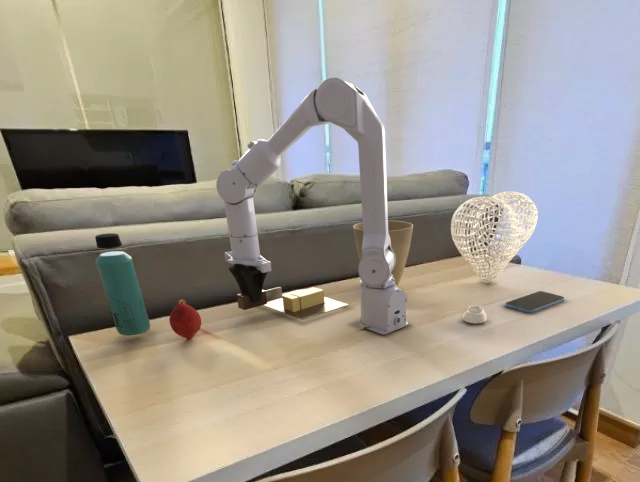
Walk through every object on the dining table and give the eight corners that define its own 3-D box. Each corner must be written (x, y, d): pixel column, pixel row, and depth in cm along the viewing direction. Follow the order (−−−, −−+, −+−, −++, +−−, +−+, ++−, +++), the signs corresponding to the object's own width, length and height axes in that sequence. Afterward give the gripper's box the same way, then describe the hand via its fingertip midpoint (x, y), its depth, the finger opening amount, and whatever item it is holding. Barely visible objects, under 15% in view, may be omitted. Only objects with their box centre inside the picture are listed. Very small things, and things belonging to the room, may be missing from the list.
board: (349, 308, 108) (348, 304, 108) (302, 324, 100) (301, 319, 99) (301, 293, 119) (300, 289, 119) (255, 305, 111) (254, 301, 110)
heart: (486, 268, 140) (496, 187, 128) (535, 276, 131) (551, 191, 120) (435, 288, 122) (441, 197, 110) (488, 300, 113) (500, 202, 101)
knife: (244, 310, 100) (242, 296, 98) (238, 307, 101) (236, 294, 100) (285, 298, 106) (284, 285, 105) (279, 296, 108) (277, 283, 106)
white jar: (470, 315, 104) (458, 321, 101) (472, 302, 102) (459, 308, 99) (490, 320, 101) (478, 326, 98) (492, 307, 99) (479, 313, 96)
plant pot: (375, 278, 131) (375, 218, 123) (421, 286, 123) (424, 223, 115) (342, 291, 120) (340, 226, 112) (390, 301, 113) (391, 232, 105)
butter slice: (300, 310, 105) (299, 297, 103) (293, 312, 103) (292, 299, 102) (290, 306, 107) (289, 293, 105) (283, 308, 106) (282, 295, 104)
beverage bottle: (160, 332, 96) (134, 231, 86) (136, 344, 90) (106, 238, 80) (135, 329, 98) (107, 229, 87) (110, 340, 92) (77, 236, 82)
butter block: (324, 302, 109) (323, 290, 108) (301, 309, 105) (300, 296, 103) (314, 299, 111) (314, 287, 110) (291, 306, 107) (290, 293, 105)
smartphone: (503, 302, 108) (539, 290, 117) (503, 306, 109) (539, 293, 117) (530, 310, 103) (566, 296, 112) (530, 314, 104) (566, 300, 112)
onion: (194, 345, 90) (186, 305, 86) (168, 343, 91) (158, 304, 87) (209, 334, 95) (202, 296, 91) (184, 332, 96) (175, 294, 92)
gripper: (207, 233, 97) (219, 296, 104) (246, 242, 88) (255, 311, 95) (237, 228, 101) (246, 289, 108) (276, 237, 92) (283, 303, 99)
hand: (252, 299), depth 102 cm, fingers closed on knife, 2 cm apart
